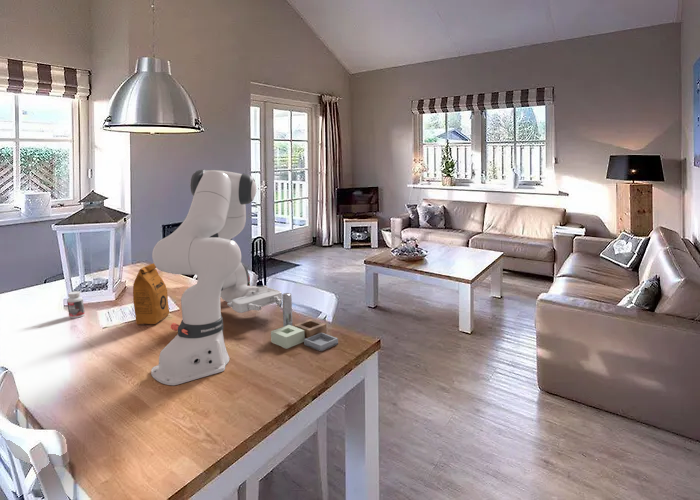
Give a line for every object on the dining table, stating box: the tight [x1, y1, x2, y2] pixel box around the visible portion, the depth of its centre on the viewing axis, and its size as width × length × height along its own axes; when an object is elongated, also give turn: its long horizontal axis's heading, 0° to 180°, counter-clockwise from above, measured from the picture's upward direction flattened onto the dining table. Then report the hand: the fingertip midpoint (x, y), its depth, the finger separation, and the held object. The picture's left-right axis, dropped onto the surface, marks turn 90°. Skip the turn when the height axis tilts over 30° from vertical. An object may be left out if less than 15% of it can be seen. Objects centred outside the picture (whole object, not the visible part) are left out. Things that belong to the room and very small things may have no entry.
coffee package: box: [132, 262, 170, 326], centre depth 173 cm, size 10×12×22 cm
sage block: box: [270, 325, 305, 350], centre depth 154 cm, size 8×8×4 cm
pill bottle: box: [66, 290, 86, 319], centre depth 180 cm, size 5×5×10 cm
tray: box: [303, 332, 339, 352], centre depth 152 cm, size 8×8×2 cm
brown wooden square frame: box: [293, 318, 328, 339], centre depth 160 cm, size 8×8×4 cm
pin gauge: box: [282, 292, 293, 327], centre depth 162 cm, size 3×3×14 cm
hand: (270, 305), depth 168 cm, fingers open, 8 cm apart
